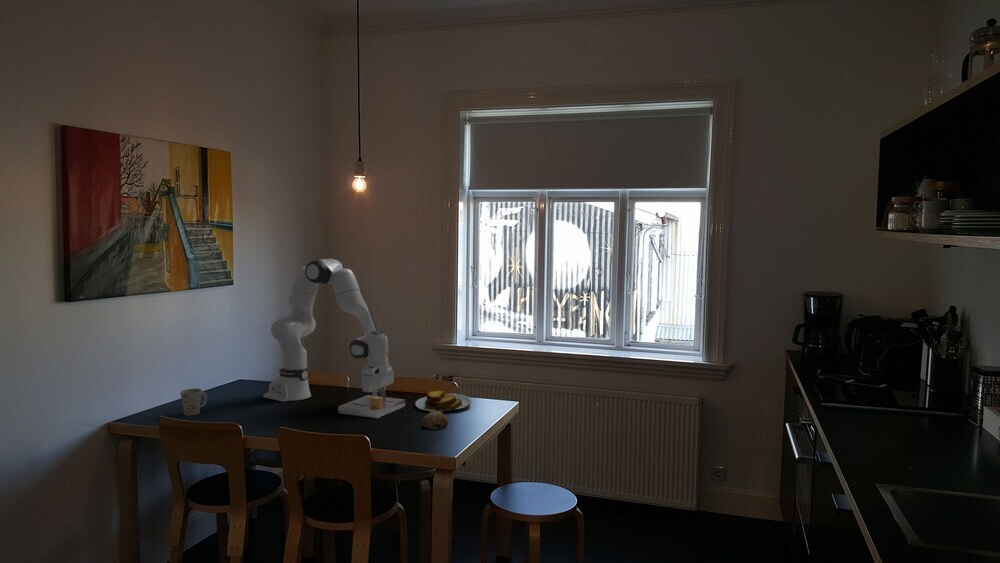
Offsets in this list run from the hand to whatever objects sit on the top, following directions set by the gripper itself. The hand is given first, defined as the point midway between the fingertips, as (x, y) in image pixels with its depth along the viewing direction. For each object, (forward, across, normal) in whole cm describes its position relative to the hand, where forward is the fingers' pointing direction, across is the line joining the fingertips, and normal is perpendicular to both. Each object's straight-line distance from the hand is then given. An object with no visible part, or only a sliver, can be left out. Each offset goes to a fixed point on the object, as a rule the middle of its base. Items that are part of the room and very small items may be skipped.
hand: (378, 397), depth 298 cm
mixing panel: (+4, +5, 0) cm, 6 cm away
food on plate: (+4, -13, +26) cm, 29 cm away
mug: (+5, +41, -67) cm, 79 cm away
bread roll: (+4, +14, +37) cm, 40 cm away
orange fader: (+1, +10, +6) cm, 12 cm away
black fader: (+1, 0, 0) cm, 1 cm away
